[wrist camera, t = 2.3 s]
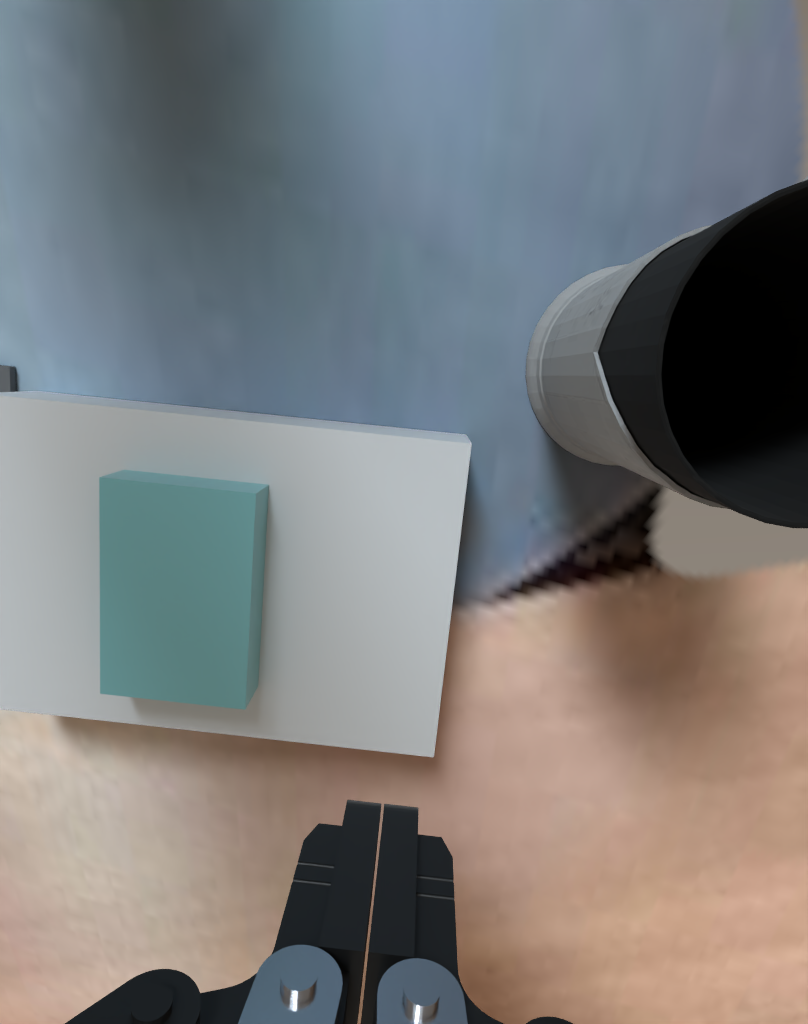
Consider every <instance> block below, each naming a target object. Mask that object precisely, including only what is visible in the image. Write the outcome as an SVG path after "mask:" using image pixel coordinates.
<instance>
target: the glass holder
mask: <svg viewBox="0 0 808 1024" xmlns="http://www.w3.org/2000/svg"><path fill="white" fill-rule="evenodd" d="M526 383H527V391H528V396H529V399H530V402H531V405H532V408H533V411H534V413H535V415H536V416H537V418H538V420H539V422H540V424H541V425H542V427H543V428H544V429H545V431H546V432H547V433H548V434H549V436H550V437H551V438H552V439H553V440H554V441H556V442H557V443H558V444H559V445H560V446H561V447H562V448H564V449H565V450H567V451H569V452H570V453H572V454H574V455H575V456H577V457H580V458H582V459H585V460H588V461H590V462H593V463H599V464H604V465H619V466H622V467H624V468H626V469H628V470H631V471H633V472H635V473H637V474H639V475H641V476H643V477H645V478H647V479H650V480H652V481H654V482H656V483H658V484H660V485H662V486H664V487H667V488H669V489H671V490H673V491H675V492H677V493H679V494H681V495H684V496H686V497H688V498H690V499H693V500H695V501H698V502H701V503H703V504H706V505H709V506H713V507H720V508H727V509H731V510H733V511H736V512H738V513H740V514H743V515H746V516H749V517H751V518H754V519H757V520H759V521H762V522H764V523H769V524H774V525H780V526H785V527H790V528H808V176H807V177H806V178H805V179H804V180H803V181H802V182H800V183H797V184H795V185H792V186H789V187H787V188H784V189H781V190H779V191H776V192H774V193H772V194H770V195H768V196H767V197H765V198H763V199H761V200H759V201H757V202H755V203H753V204H752V205H750V206H748V207H746V208H744V209H742V210H740V211H738V212H736V213H735V214H733V215H731V216H729V217H727V218H725V219H723V220H721V221H720V222H718V223H716V224H714V225H710V226H704V227H701V228H698V229H695V230H693V231H690V232H687V233H685V234H682V235H680V236H678V237H676V238H674V239H672V240H671V241H669V242H667V243H665V244H664V245H662V246H660V247H658V248H656V249H655V250H653V251H651V252H649V253H647V254H646V255H644V256H642V257H640V258H639V259H637V260H635V261H633V262H631V263H630V264H624V265H618V266H613V267H608V268H604V269H601V270H598V271H596V272H593V273H590V274H588V275H586V276H584V277H583V278H581V279H579V280H578V281H576V282H574V283H573V284H571V285H570V286H569V287H568V288H566V289H565V290H564V291H563V292H562V293H561V294H559V295H558V296H557V297H556V299H555V300H554V301H553V302H552V303H551V304H550V306H549V307H548V308H547V309H546V311H545V312H544V314H543V316H542V317H541V319H540V321H539V322H538V324H537V326H536V328H535V331H534V333H533V336H532V338H531V341H530V345H529V349H528V354H527V359H526Z"/></svg>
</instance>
